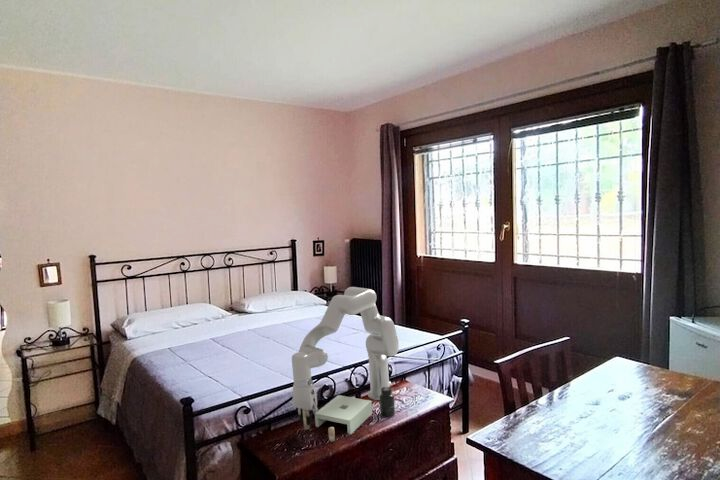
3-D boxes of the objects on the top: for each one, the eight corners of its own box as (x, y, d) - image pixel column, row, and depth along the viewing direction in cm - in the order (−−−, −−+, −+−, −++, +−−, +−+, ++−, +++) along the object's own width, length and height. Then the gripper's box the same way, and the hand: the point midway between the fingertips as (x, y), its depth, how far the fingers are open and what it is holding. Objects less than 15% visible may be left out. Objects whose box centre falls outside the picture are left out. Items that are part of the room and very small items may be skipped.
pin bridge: (339, 407, 209) (338, 395, 209) (372, 413, 200) (371, 400, 200) (315, 426, 192) (314, 413, 191) (350, 434, 183) (349, 420, 182)
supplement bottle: (394, 418, 195) (392, 392, 194) (379, 417, 196) (377, 391, 195) (396, 410, 201) (394, 385, 201) (381, 410, 203) (380, 385, 202)
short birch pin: (331, 438, 181) (330, 426, 181) (336, 439, 180) (335, 427, 179) (327, 441, 179) (326, 429, 178) (332, 442, 177) (332, 430, 177)
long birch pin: (306, 426, 187) (304, 401, 186) (311, 427, 186) (308, 402, 185) (302, 428, 185) (300, 404, 184) (307, 429, 184) (305, 404, 183)
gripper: (323, 380, 183) (327, 422, 185) (292, 376, 191) (296, 416, 193) (313, 388, 177) (317, 431, 178) (282, 382, 185) (286, 424, 186)
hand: (306, 423), depth 185 cm, fingers closed on long birch pin, 2 cm apart
